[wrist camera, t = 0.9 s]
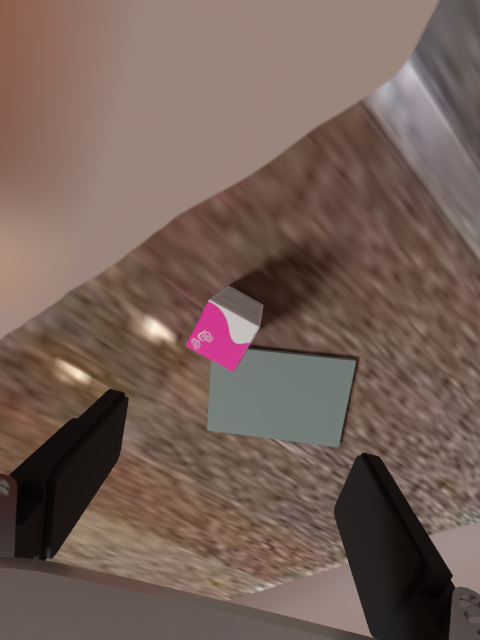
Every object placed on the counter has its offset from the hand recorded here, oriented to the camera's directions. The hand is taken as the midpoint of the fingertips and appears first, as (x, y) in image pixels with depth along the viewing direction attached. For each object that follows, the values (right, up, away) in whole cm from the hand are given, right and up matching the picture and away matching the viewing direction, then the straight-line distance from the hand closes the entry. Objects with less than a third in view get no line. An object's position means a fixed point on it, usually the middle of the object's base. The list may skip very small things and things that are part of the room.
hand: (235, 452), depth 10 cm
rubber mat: (+6, -6, +29) cm, 30 cm away
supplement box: (0, +6, +26) cm, 27 cm away
